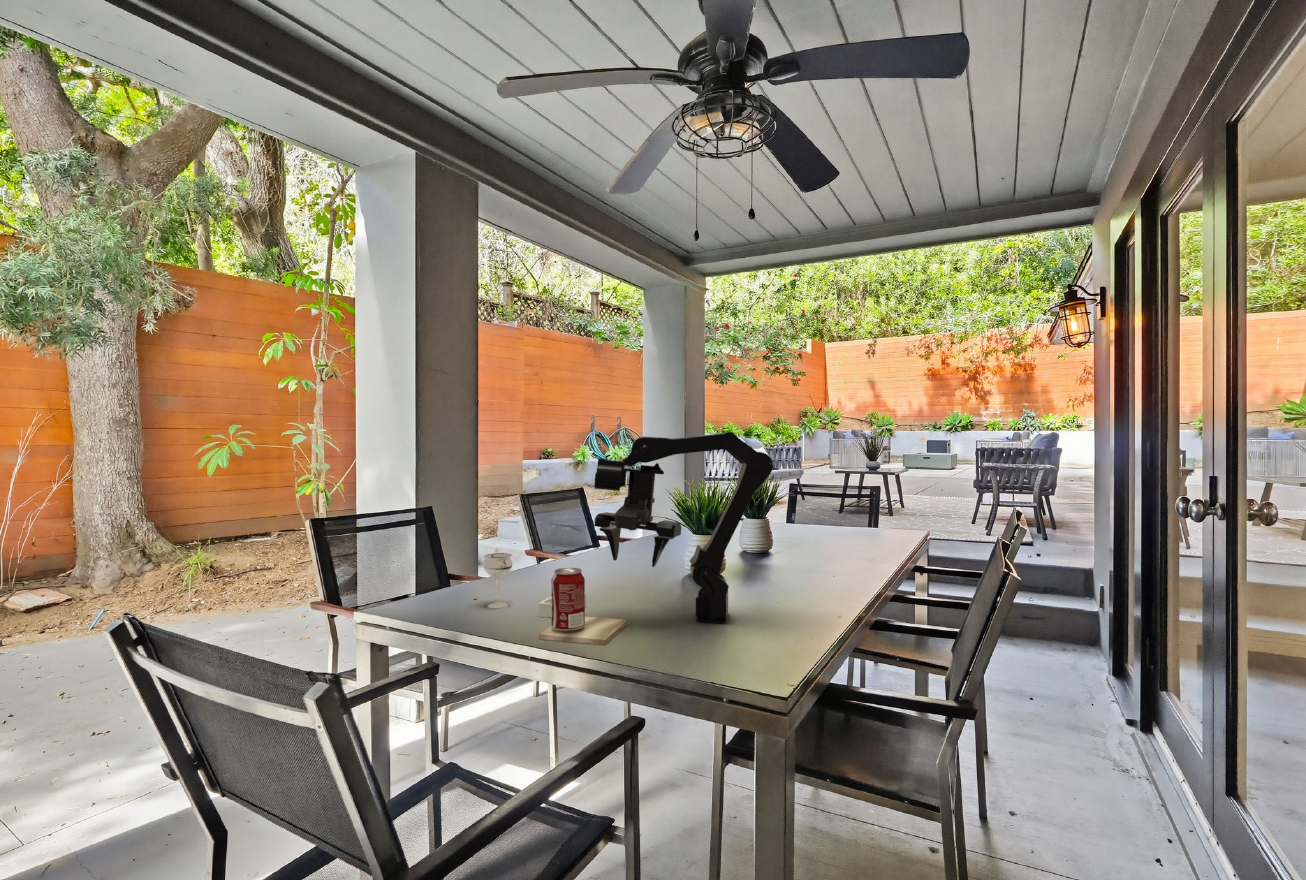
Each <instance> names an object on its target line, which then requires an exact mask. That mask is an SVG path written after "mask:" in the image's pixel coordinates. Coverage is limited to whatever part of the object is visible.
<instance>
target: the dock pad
mask: <svg viewBox="0 0 1306 880" xmlns="http://www.w3.org/2000/svg"><path fill="white" fill-rule="evenodd" d="M627 624H628V619H621V618H619V619H617V618H608V617H607V618H604V617H594V616H593V617H591V616H585V626H584V627H583V628H581V629H580V630H578V631H575V632H567V633H566V632H559V631H557V630H555V629H553V628H552V625H550V626H549V627H548V628H545V630H543V631H542V632H540V633H539V634H538V639H539V640H545V641H555V642H556V641H557V642H566V643H578V644H588V643H591V644H590V645H599V646H600V645H601V646H606V645H608V643H610V641H611V640H612V639H614V638H615V637H616V636H617V635H618V634H619V633H620V632H622V630H624V629H625V628H626V627H627V626H628V625H629V624H628V625H627ZM626 625H627V626H626ZM625 626H626V627H625ZM624 627H625V628H624ZM616 634H617V635H616ZM614 636H615V637H614Z"/></svg>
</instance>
